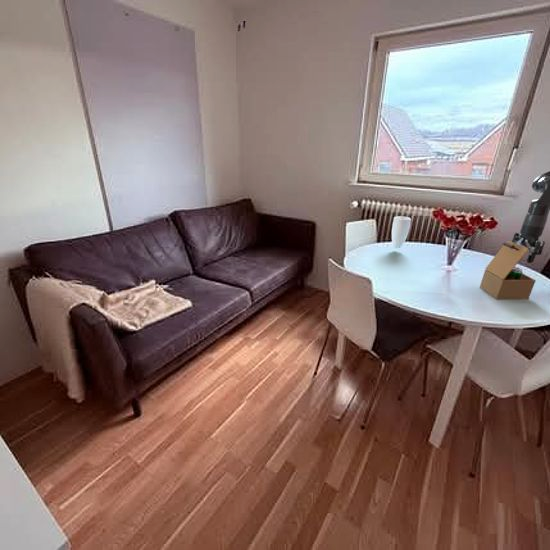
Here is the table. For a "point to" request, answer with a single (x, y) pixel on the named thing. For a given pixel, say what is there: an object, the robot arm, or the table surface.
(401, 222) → the white vase
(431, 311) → the table surface
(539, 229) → the robot arm
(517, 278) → the soda can
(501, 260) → the flap
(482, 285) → the carton
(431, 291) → the table surface
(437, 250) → the table surface
